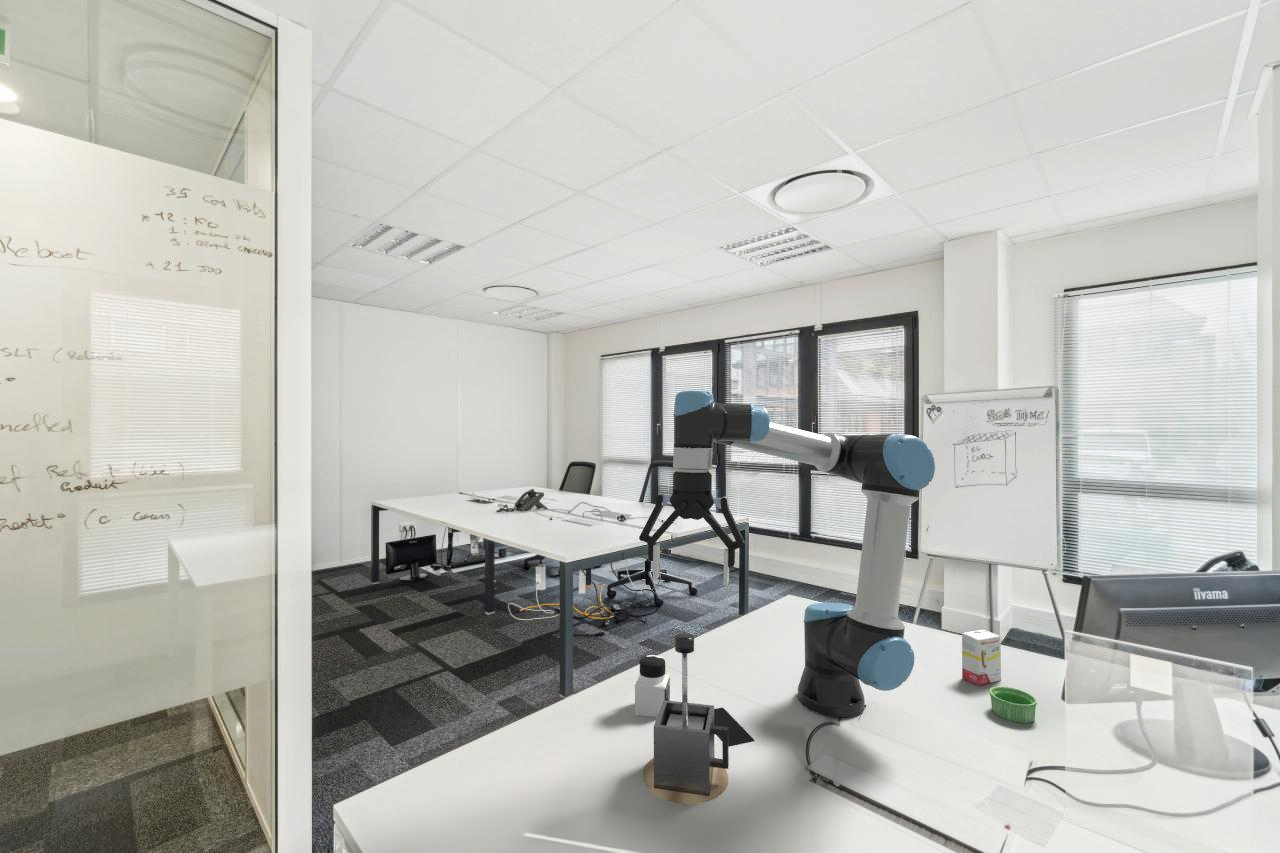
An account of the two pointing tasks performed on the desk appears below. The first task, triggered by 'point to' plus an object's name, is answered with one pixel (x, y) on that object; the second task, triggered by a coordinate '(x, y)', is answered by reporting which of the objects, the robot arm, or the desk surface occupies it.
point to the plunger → (685, 687)
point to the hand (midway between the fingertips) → (690, 581)
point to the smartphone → (731, 728)
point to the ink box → (981, 657)
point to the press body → (687, 750)
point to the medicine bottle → (651, 686)
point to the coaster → (716, 790)
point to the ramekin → (1013, 704)
